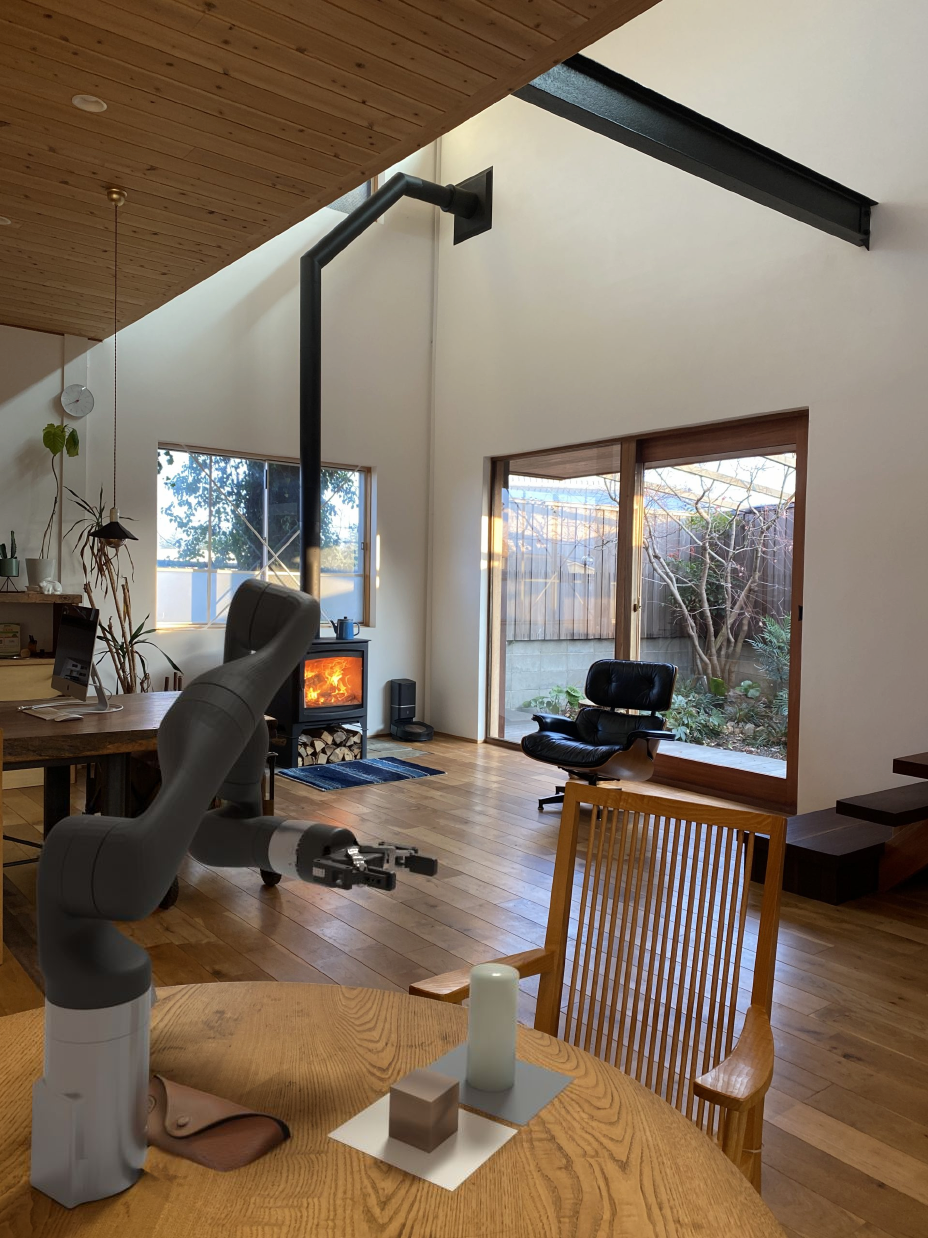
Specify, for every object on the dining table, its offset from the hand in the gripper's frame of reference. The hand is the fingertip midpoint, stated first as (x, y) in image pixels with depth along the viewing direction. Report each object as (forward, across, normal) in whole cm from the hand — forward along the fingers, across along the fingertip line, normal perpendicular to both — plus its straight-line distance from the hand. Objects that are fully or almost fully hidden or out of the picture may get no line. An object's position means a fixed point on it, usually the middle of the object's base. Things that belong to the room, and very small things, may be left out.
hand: (415, 874), depth 110 cm
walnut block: (+11, +13, -21) cm, 27 cm away
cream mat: (+11, +13, -22) cm, 28 cm away
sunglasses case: (-7, +26, -23) cm, 36 cm away
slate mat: (+11, 0, -22) cm, 25 cm away
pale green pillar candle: (+11, 0, -21) cm, 24 cm away
